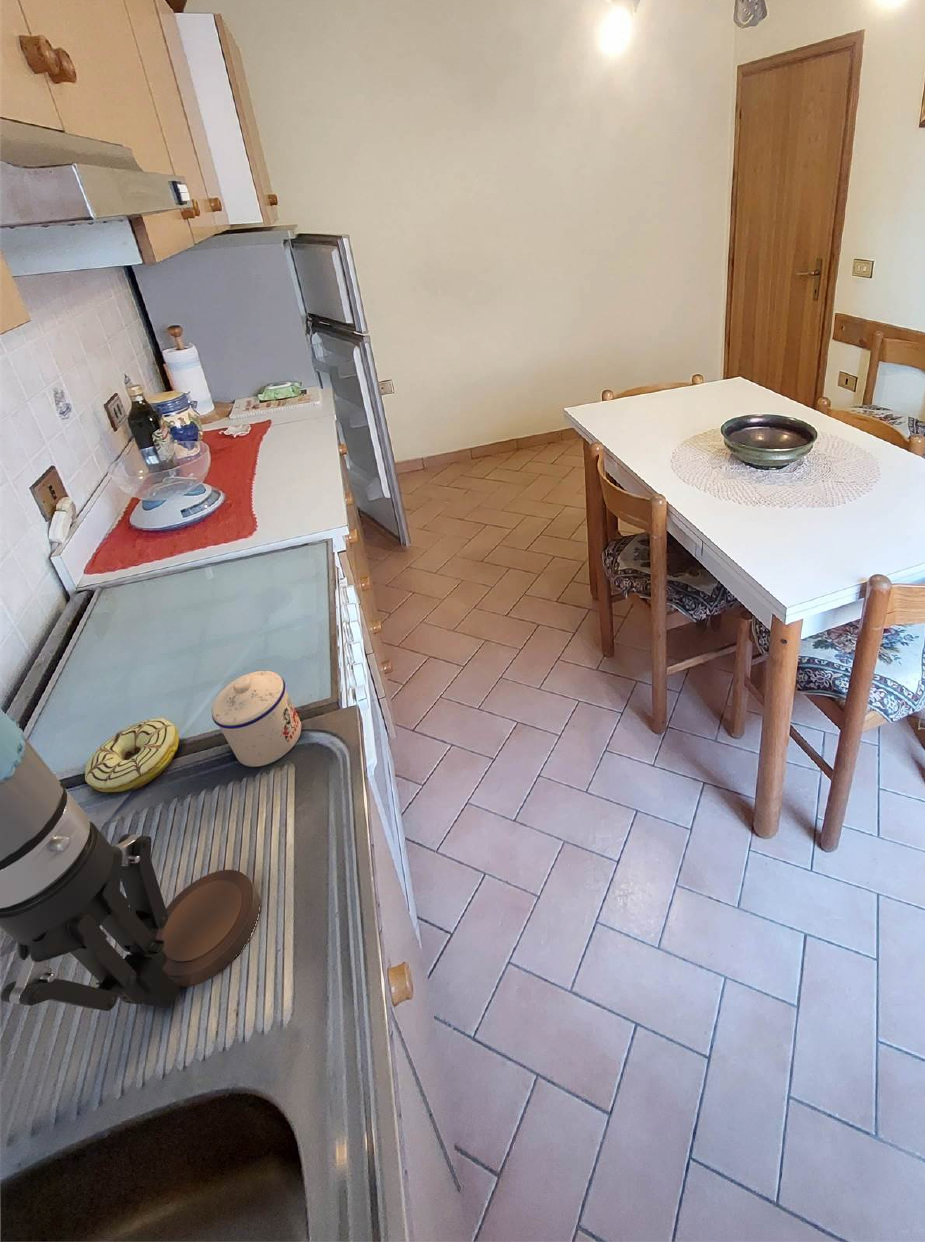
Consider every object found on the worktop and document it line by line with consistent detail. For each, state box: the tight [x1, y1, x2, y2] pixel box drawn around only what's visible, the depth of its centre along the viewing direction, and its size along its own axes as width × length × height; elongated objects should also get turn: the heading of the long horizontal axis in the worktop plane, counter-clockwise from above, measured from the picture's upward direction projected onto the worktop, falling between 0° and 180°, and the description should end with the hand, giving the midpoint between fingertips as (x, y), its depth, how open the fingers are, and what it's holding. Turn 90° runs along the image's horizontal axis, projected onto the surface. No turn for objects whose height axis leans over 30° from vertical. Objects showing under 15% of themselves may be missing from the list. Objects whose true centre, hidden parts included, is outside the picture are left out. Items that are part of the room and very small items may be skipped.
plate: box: [156, 869, 261, 988], centre depth 66 cm, size 10×10×2 cm
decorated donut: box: [84, 717, 180, 793], centre depth 85 cm, size 10×11×4 cm
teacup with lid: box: [211, 670, 302, 768], centre depth 85 cm, size 12×9×12 cm
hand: (162, 997), depth 60 cm, fingers closed
